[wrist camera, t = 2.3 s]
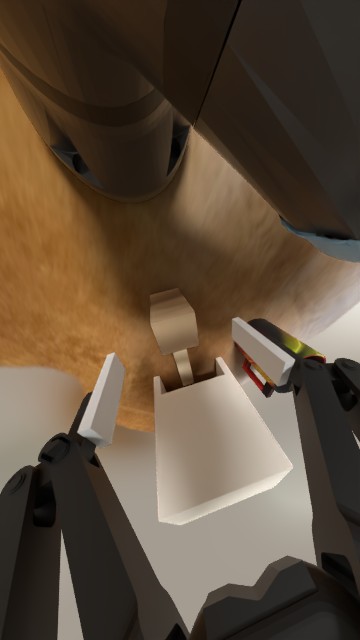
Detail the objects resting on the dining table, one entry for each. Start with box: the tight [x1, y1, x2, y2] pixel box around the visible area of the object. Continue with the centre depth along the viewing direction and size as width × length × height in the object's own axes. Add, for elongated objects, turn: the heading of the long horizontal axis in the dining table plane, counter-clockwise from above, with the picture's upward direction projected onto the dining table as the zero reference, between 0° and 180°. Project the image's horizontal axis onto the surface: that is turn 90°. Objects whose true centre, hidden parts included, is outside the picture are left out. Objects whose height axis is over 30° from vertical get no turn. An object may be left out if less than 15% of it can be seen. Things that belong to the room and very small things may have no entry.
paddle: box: [150, 288, 200, 386], centre depth 25 cm, size 25×5×10 cm, turn 11°
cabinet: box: [154, 357, 293, 525], centre depth 29 cm, size 15×18×20 cm
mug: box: [235, 318, 326, 398], centre depth 29 cm, size 10×14×12 cm
